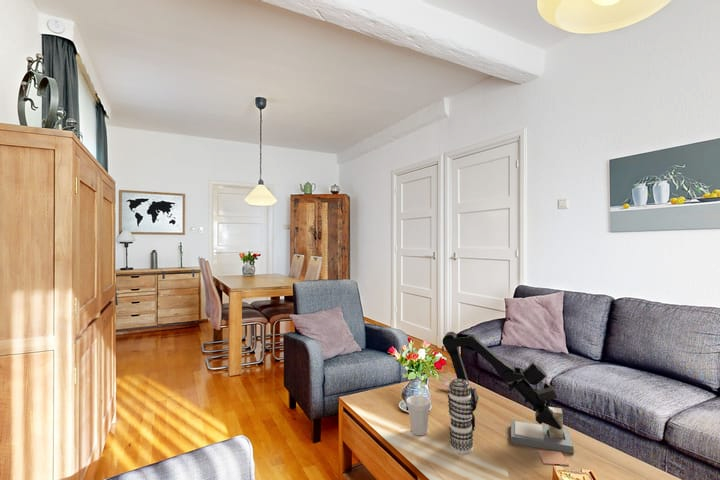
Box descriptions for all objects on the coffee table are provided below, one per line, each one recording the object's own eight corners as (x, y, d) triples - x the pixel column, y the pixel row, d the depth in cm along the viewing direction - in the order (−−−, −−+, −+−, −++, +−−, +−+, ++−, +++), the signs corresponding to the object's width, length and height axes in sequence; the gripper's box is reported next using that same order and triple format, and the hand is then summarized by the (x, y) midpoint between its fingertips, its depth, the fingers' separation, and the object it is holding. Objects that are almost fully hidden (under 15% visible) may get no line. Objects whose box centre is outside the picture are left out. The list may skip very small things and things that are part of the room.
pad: (543, 464, 129) (543, 462, 129) (537, 451, 137) (537, 450, 137) (568, 465, 128) (568, 464, 128) (560, 452, 135) (560, 451, 135)
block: (550, 443, 142) (549, 411, 142) (548, 437, 146) (548, 406, 146) (563, 445, 140) (562, 413, 140) (561, 439, 144) (561, 408, 144)
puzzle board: (511, 442, 143) (510, 435, 143) (511, 425, 156) (510, 418, 156) (573, 453, 135) (573, 445, 135) (568, 434, 148) (568, 427, 148)
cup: (412, 424, 159) (411, 393, 159) (435, 429, 154) (434, 398, 154) (403, 435, 150) (402, 402, 150) (426, 441, 145) (425, 407, 145)
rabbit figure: (470, 394, 191) (442, 385, 198) (472, 383, 191) (444, 374, 198) (467, 399, 186) (438, 389, 193) (469, 387, 185) (440, 378, 192)
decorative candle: (471, 456, 134) (469, 387, 134) (446, 450, 139) (444, 383, 139) (476, 444, 142) (475, 379, 142) (452, 438, 147) (451, 375, 147)
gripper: (545, 388, 136) (580, 423, 132) (541, 371, 153) (572, 401, 149) (522, 406, 139) (556, 441, 135) (520, 388, 156) (551, 418, 152)
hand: (559, 424), depth 143 cm, fingers open, 7 cm apart
